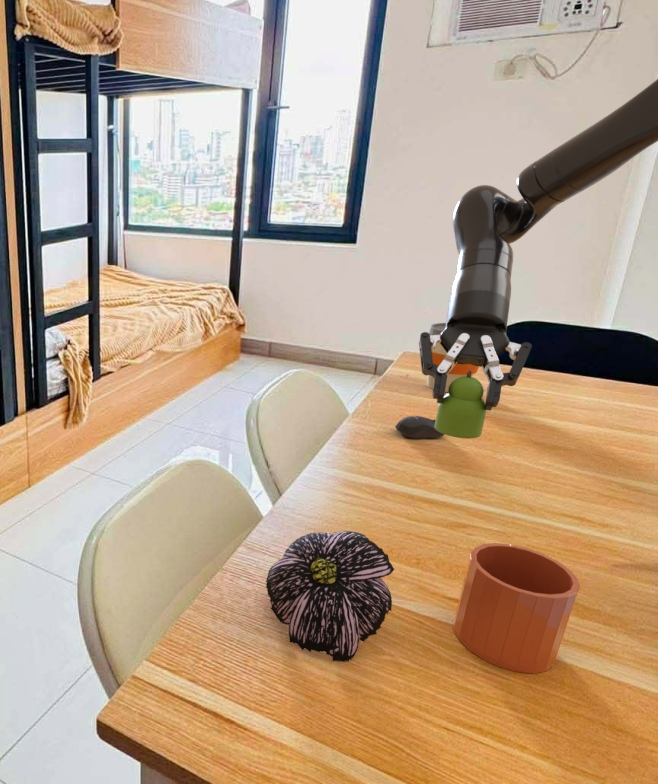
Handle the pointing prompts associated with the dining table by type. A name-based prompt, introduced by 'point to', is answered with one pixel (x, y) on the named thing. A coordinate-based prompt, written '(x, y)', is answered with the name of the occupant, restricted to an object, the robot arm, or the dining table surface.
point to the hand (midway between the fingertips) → (464, 403)
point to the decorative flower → (331, 591)
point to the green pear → (462, 409)
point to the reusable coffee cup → (439, 356)
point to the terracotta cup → (515, 607)
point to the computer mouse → (418, 428)
